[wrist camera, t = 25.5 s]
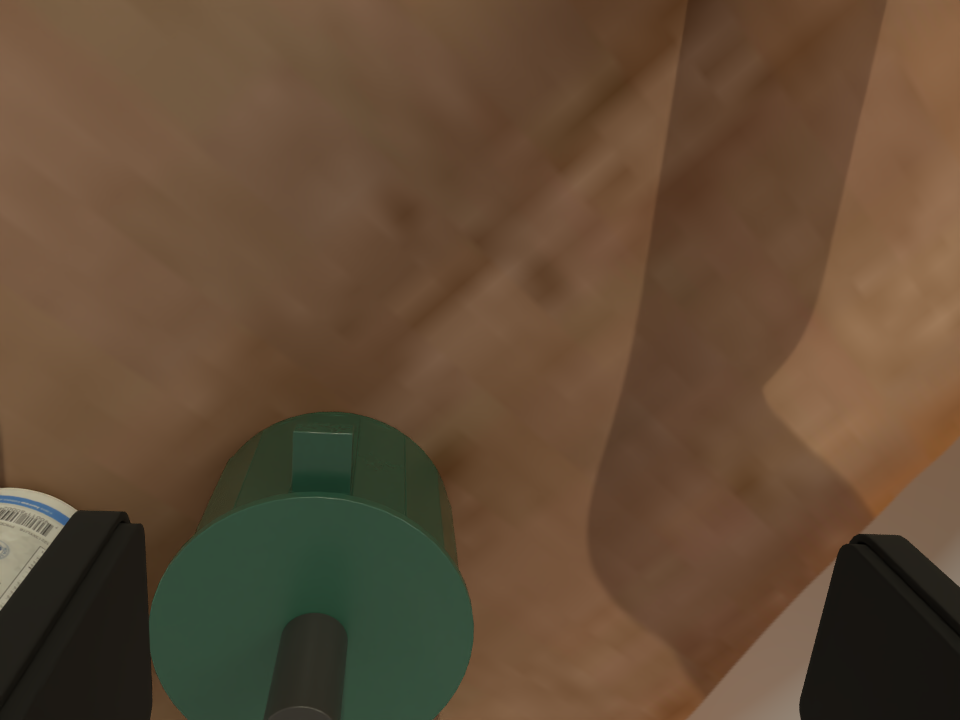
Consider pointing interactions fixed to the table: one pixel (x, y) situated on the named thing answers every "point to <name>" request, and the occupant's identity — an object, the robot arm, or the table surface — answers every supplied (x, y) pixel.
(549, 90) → the table surface
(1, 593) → the supplement tub
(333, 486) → the green cooking pot
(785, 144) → the table surface
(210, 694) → the lid
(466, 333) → the table surface
